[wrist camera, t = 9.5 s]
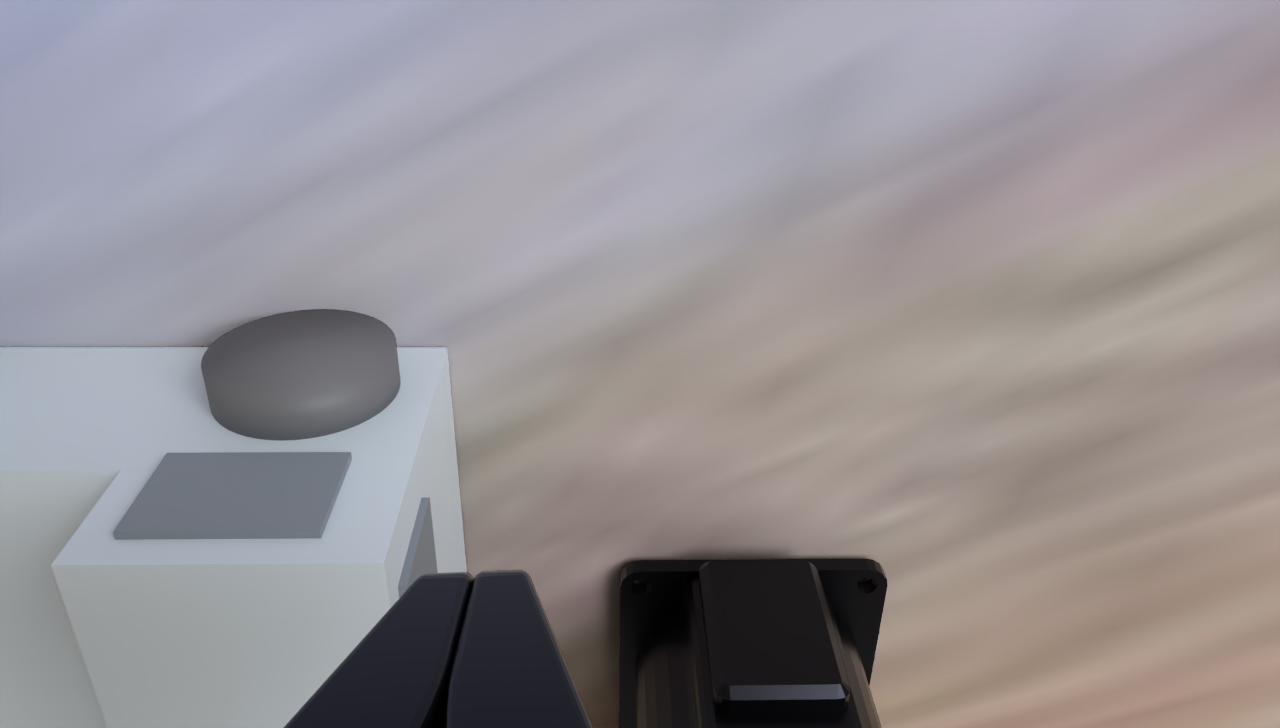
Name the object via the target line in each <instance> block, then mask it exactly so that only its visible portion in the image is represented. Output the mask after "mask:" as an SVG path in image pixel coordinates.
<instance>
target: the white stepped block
mask: <svg viewBox="0 0 1280 728" xmlns="http://www.w3.org/2000/svg"><path fill="white" fill-rule="evenodd" d="M449 572H467V567H466V556H465V544H464V533H463V521H462V510H461V499H460V487H459V476H458V464H457V453H456V441H455V430H454V418H453V407H452V396H451V384H450V373H449V361H448V350H447V347H397V345H396V338H395V335H394V333H393V332H392V330H391V329H390V328H389V327H388V326H387V325H386V324H384V323H383V322H381V321H380V320H377V319H375V318H373V317H370V316H367V315H364V314H360V313H356V312H350V311H343V310H327V309H320V310H302V311H294V312H287V313H282V314H277V315H273V316H269V317H265V318H261V319H258V320H255V321H252V322H249V323H247V324H244V325H242V326H240V327H237V328H235V329H233V330H231V331H230V332H228V333H226V334H224V335H223V336H221V337H220V338H219V339H217V340H216V341H215V342H214V343H213V344H211V346H210V347H0V728H283V727H284V726H285V725H286V724H287V723H288V722H289V721H290V720H291V718H292V717H293V716H294V715H295V714H296V713H297V712H298V711H299V709H300V708H301V707H302V706H303V705H304V704H305V703H306V702H307V701H308V699H309V698H310V697H311V696H312V695H313V694H314V693H315V692H316V691H317V689H318V688H319V687H320V686H321V685H322V684H323V683H324V682H325V681H326V679H327V678H328V677H329V676H330V675H331V674H332V673H333V672H334V670H335V669H336V668H337V667H338V666H339V665H340V664H341V663H342V662H343V660H344V659H345V658H346V657H347V656H348V655H349V654H350V653H351V652H352V650H353V649H354V648H355V647H356V646H357V645H358V644H359V643H360V641H361V640H362V639H363V638H364V637H365V636H366V635H367V634H368V633H369V631H370V630H371V629H372V628H373V627H374V626H375V625H376V624H377V623H378V621H379V620H380V619H381V618H382V617H383V616H384V615H385V614H386V613H387V611H388V610H389V609H390V608H391V607H392V606H393V605H394V604H395V602H396V601H397V600H398V599H399V598H400V597H401V596H402V595H403V594H404V592H405V591H406V590H407V589H408V588H409V587H410V586H411V585H412V584H413V582H414V581H415V580H416V579H417V578H419V577H420V576H422V575H424V574H428V573H449Z"/></svg>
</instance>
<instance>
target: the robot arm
mask: <svg viewBox="0 0 1280 728" xmlns="http://www.w3.org/2000/svg"><path fill="white" fill-rule="evenodd" d="M863 578H872V579H870V580H869V581H867V582H863V583H861V582H859V581H860V580H861V579H863ZM640 579H642V580H647V581H648V582H647V583H645V584H635V583H634V581H636V580H640ZM886 590H887V579H886V576H885V573H884V571H883V568H882V567H881V565H880V564H879V563H878V562H876V561H874V560H870V559H781V560H642V561H635V562H632V563H630V564H628V565H626V566H625V567H624V568H623V570H622V571H621V575H620V635H619V728H882V727H881V724H880V721H879V717H878V714H877V711H876V708H875V704H874V701H873V698H872V694H871V691H870V688H869V684H870V679H871V673H872V667H873V662H874V656H875V651H876V645H877V640H878V634H879V629H880V623H881V617H882V612H883V606H884V601H885V595H886ZM283 728H593V727H592V724H591V722H590V719H589V717H588V714H587V712H586V710H585V707H584V705H583V702H582V700H581V698H580V695H579V693H578V690H577V688H576V686H575V683H574V681H573V678H572V676H571V674H570V671H569V669H568V666H567V664H566V662H565V659H564V657H563V654H562V652H561V650H560V647H559V645H558V642H557V640H556V638H555V635H554V633H553V630H552V628H551V626H550V623H549V621H548V618H547V616H546V614H545V611H544V609H543V606H542V604H541V602H540V599H539V597H538V594H537V592H536V590H535V587H534V585H533V582H532V580H531V578H530V576H529V574H528V573H527V572H525V571H524V570H499V571H483V572H480V573H479V574H477V575H476V577H475V578H474V577H473V576H472V575H471V574H470V573H468V572H449V573H428V574H424V575H422V576H420V577H419V578H417V579H416V580H415V581H414V582H413V584H412V585H411V586H410V587H409V588H408V589H407V590H406V591H405V592H404V594H403V595H402V596H401V597H400V598H399V599H398V600H397V601H396V602H395V604H394V605H393V606H392V607H391V608H390V609H389V610H388V611H387V613H386V614H385V615H384V616H383V617H382V618H381V619H380V620H379V621H378V623H377V624H376V625H375V626H374V627H373V628H372V629H371V630H370V631H369V633H368V634H367V635H366V636H365V637H364V638H363V639H362V640H361V641H360V643H359V644H358V645H357V646H356V647H355V648H354V649H353V650H352V652H351V653H350V654H349V655H348V656H347V657H346V658H345V659H344V660H343V662H342V663H341V664H340V665H339V666H338V667H337V668H336V669H335V670H334V672H333V673H332V674H331V675H330V676H329V677H328V678H327V679H326V681H325V682H324V683H323V684H322V685H321V686H320V687H319V688H318V689H317V691H316V692H315V693H314V694H313V695H312V696H311V697H310V698H309V699H308V701H307V702H306V703H305V704H304V705H303V706H302V707H301V708H300V709H299V711H298V712H297V713H296V714H295V715H294V716H293V717H292V718H291V720H290V721H289V722H288V723H287V724H286V725H285V726H284V727H283Z"/></svg>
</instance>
